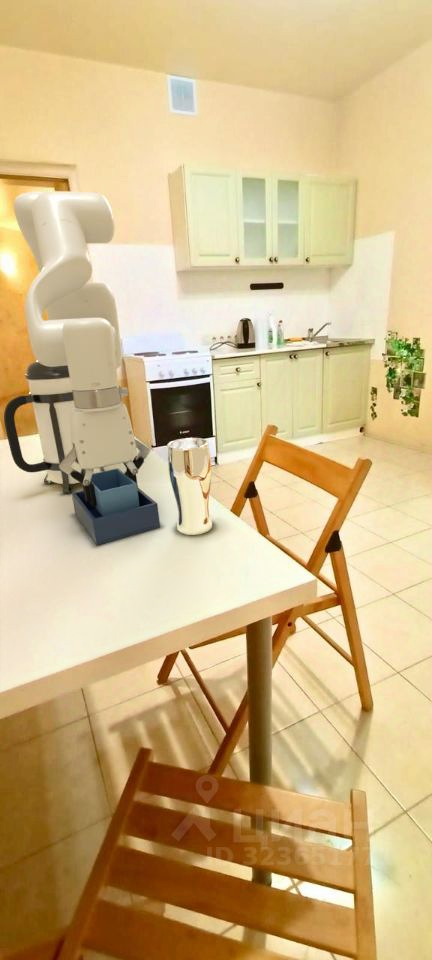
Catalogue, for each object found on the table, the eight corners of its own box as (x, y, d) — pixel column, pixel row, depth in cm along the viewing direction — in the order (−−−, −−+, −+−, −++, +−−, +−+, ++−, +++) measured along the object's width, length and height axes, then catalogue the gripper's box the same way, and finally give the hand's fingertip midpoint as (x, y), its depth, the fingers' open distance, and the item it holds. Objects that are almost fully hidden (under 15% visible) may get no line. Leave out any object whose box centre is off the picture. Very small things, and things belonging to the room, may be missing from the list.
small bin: (87, 498, 83) (83, 475, 81) (121, 490, 86) (118, 468, 84) (103, 517, 75) (99, 492, 73) (139, 507, 78) (136, 483, 76)
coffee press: (56, 471, 110) (31, 344, 100) (119, 470, 108) (100, 340, 98) (19, 499, 94) (-15, 351, 83) (92, 498, 92) (66, 347, 81)
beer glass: (168, 524, 78) (159, 442, 73) (204, 515, 81) (198, 435, 76) (184, 540, 73) (176, 452, 67) (222, 529, 76) (217, 444, 70)
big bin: (75, 514, 85) (71, 492, 83) (131, 500, 90) (128, 479, 88) (96, 545, 73) (92, 520, 71) (160, 527, 78) (157, 503, 76)
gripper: (139, 389, 81) (150, 482, 87) (38, 403, 73) (58, 504, 79) (155, 394, 74) (165, 493, 81) (47, 410, 67) (68, 518, 73)
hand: (112, 498), depth 80 cm, fingers closed on small bin, 6 cm apart
